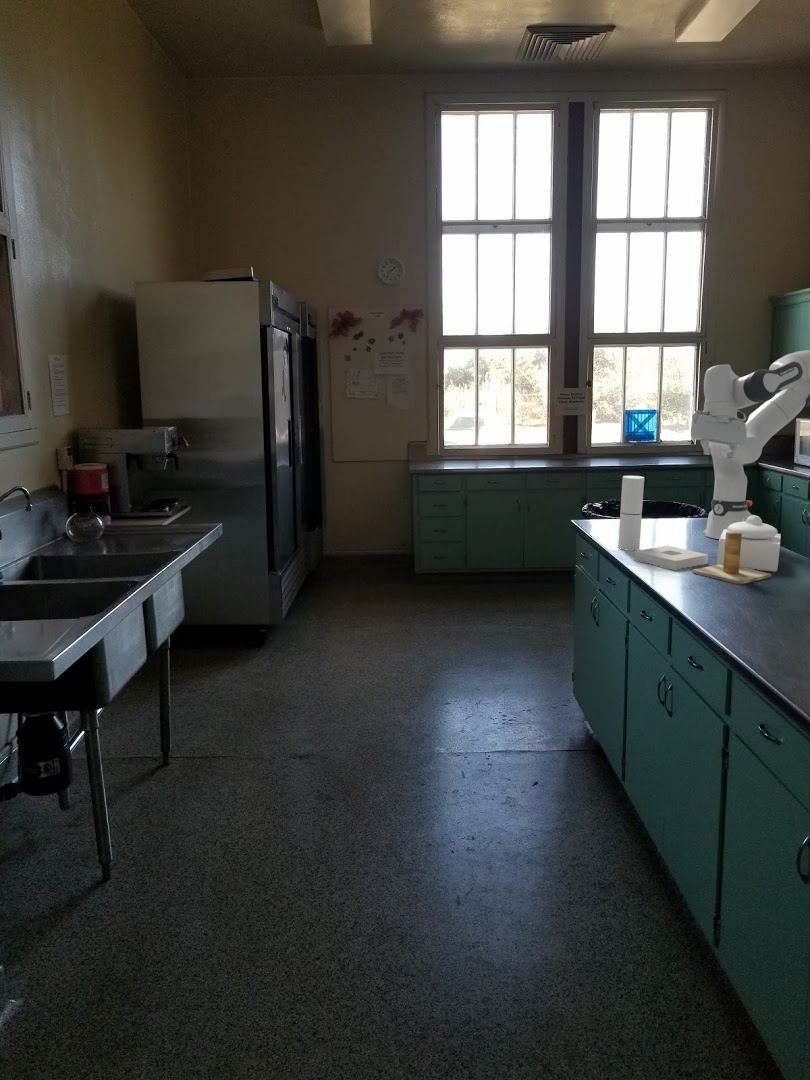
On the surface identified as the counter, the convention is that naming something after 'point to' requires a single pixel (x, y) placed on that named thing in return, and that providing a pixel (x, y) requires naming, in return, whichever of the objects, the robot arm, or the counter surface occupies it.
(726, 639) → the counter surface
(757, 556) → the butter dish
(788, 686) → the counter surface
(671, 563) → the socket block
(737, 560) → the plug
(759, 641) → the counter surface
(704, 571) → the board
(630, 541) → the cylindrical container
